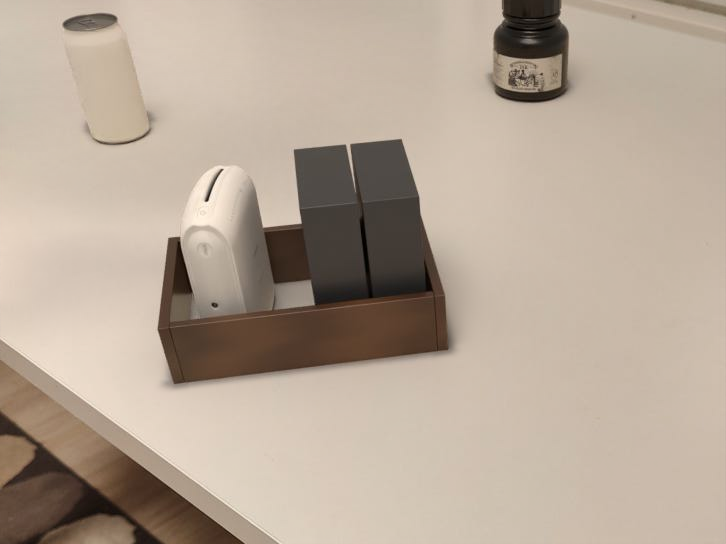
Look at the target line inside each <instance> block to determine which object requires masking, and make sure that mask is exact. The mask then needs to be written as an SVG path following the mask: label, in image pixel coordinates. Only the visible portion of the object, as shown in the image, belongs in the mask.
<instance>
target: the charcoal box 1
mask: <svg viewBox="0 0 726 544" xmlns="http://www.w3.org/2000/svg"><path fill="white" fill-rule="evenodd" d="M293 158H294V169H295V170H294V171H295V179H296V189H297V199H298V200H297V201H298V210H299V214H300V215H299V216H300V222H301V223H302V229H303V235H304V241H305V247H306V253H307V259H308V266H309V272H310V278H311V280H310V282H311V289H312V295H313V301H314V302H313V303H314V305H320V304H329V303H337V302H346V301H354V300H363V299H370V298H369V293H368V287H367V279H366V270H365V262H364V253H363V245H362V236H361V227H360V219H359V210H358V202H357V197H356V191H355V182H354V176H353V173H352V172H353V171H352V168H351V162H350V158H349V153H348V147H347V144H334V145H324V146H314V147H305V148H304V147H303V148H294V149H293ZM301 223H300V224H301Z"/></svg>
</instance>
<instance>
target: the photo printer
mask: <svg viewBox="0 0 726 544" xmlns="http://www.w3.org/2000/svg"><path fill="white" fill-rule="evenodd" d="M263 228H264V225H263V220H262V215H261V209H260V204H259V200H258V195H257V191H256V185H255V184H254V181H253V179H252V177H251V176H250V175H249V174H248V173H247V172H246V170H244V169H243V168H241V167H240V166H238V165H235V164H232V165H223V164H218V165H216V166H213V167H211V168H209V169H208V170H207V171H206V172H204V174H203V175H202V176H201V177H200V178H199V180H198V181H197V182H196V183H195V185H194V186H193V187H192V189H191V192H190V194H189V197H188V199H187V202H186V205H185V208H184V210H183V214H182V218H181V222H180V234H179V237H180V239H181V248H182V252H183V256H184V260H185V264H186V268H187V271H188V275H189V279H190V283H191V287H192V291H193V293H192V294H193V298H194V302H195V306H196V310H197V313H198V317H199V319H201V318H209V317H218V316H226V315H235V314H243V313H252V312H260V311H269V310H273V307H274V303H275V296H276V295H275V284H274V282H273V277H272V271H271V266H270V261H269V256H268V250H267V245H266V240H265V235H264V230H263Z"/></svg>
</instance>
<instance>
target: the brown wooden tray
mask: <svg viewBox="0 0 726 544" xmlns="http://www.w3.org/2000/svg"><path fill="white" fill-rule="evenodd" d="M421 227H422V241H423V256H424V270H425V284H426V292H422V293H414V294H405V295H397V296H388V297H380V298H371V299H370V298H369V299H363V300H354V301H346V302H337V303H329V304H320V305H315V304H312V305H305V306H303V305H302V306H296V307H286V308H279V309H272V310H269V311H260V312H252V313H243V314H235V315H226V316H218V317H209V318H201V319H200V318H194V319H190V316H191V305H192V294H193V291H192V287H191V283H190V279H189V275H188V271H187V268H186V264H185V260H184V256H183V252H182V248H181V239H180V236H171V237H167V245H166V253H165V263H164V271H163V279H162V288H161V295H160V296H161V297H160V303H159V304H160V305H159V311H158V312H159V313H158V321H157V329H156V331H157V332H158V337H159V339H160V342H161V343H160V344H161V345H162V346H161V347H162V350H163V353H164V356H165V359H166V363H167V366H168V370H169V373H170V377H171V380H172V383H173V385H178V384H185V383H186V384H187V383H193V382H194V383H195V382H203V381H210V380H219V379H227V378H234V377H236V378H237V377H243V376H250V375H259V374H267V373H274V372H282V371H283V372H285V371H290V370H300V369H305V368H306V369H309V368H315V367H322V366H324V367H325V366H330V365H339V364H346V363H355V362H363V361H370V360H379V359H380V360H381V359H386V358H387V359H388V358H396V357H402V356H403V357H404V356H410V355H412V356H413V355H419V354H426V353H436V352H442V351H443V352H444V351H448V350H449V340H448V338H449V337H448V323H447V321H448V320H447V304H446V294H445V291H444V287H443V284H442V280H441V277H440V274H439V270H438V267H437V264H436V260H435V257H434V254H433V250H432V248H431V244H430V240H429V237H428V234H427V230H426V228H425V223H424V220H423V217H422V216H421ZM263 230H264V235H265V240H266V245H267V250H268V256H269V261H270V266H271V271H272V277H273V282H274V285H277V284H285V283H292V282H293V283H294V282H302V281H303V282H304V281H311V278H310V272H309V266H308V259H307V253H306V247H305V241H304V235H303V229H302V223H294V224H293V223H292V224H283V225H274V226H265V227H264V226H263Z"/></svg>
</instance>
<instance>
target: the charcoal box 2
mask: <svg viewBox="0 0 726 544" xmlns="http://www.w3.org/2000/svg"><path fill="white" fill-rule="evenodd" d="M349 147H350V155H351V165H352V172H353V173H352V175H353V182H354V187H355V192H356V197H357V202H358V210H359V219H360V227H361V236H362V245H363V253H364V262H365V270H366V279H367V287H368V296H369V299H371V298H380V297H388V296H397V295H405V294H414V293H422V292H426V284H425V270H424V256H423V241H422V227H421V217H422V214H421V201H420V194H419V190H418V187H417V184H416V182H415V178H414V174H413V171H412V168H411V165H410V161H409V158H408V155H407V152H406V148H405V145H404V142H403V140H402V138H397V139H386V140H376V141H367V142H355V143H350V144H349Z"/></svg>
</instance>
